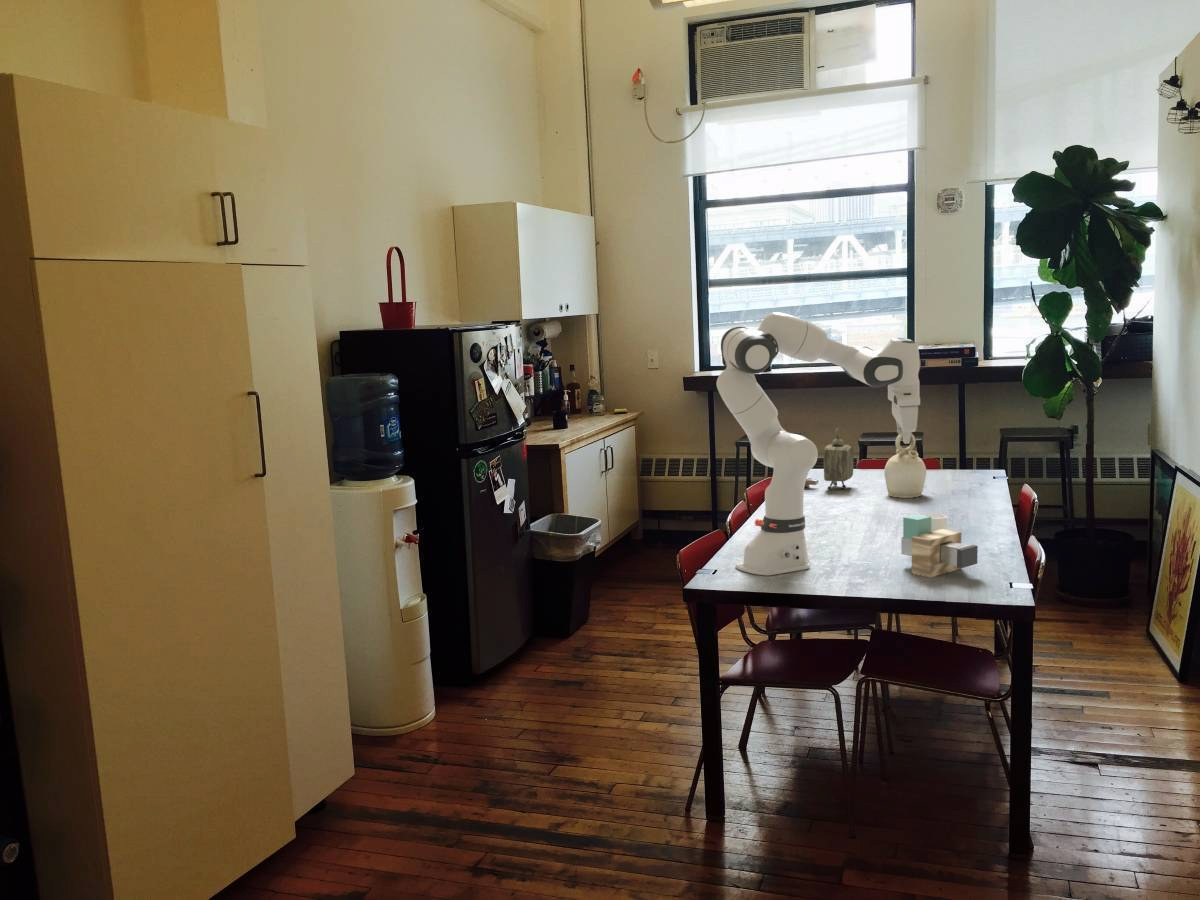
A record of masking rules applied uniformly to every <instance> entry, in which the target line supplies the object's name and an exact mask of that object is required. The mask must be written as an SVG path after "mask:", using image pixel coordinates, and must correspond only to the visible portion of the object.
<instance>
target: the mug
mask: <svg viewBox="0 0 1200 900" xmlns="http://www.w3.org/2000/svg"><path fill="white" fill-rule="evenodd" d="M919 515H924V516H930V517H932V518H931V532H933V531H937V530H941V529H947V530H948V516H947V515H946V514H942V513H935V512H927V513H925V512H924V513H920V514H919Z"/></svg>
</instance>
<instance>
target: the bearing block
mask: <svg viewBox="0 0 1200 900" xmlns="http://www.w3.org/2000/svg"><path fill="white" fill-rule="evenodd" d="M949 541H950V542H955V543H960V544H962V531H958V530H957V531H956V530H951V529H948V528H947V529H941V530H937V531H933V532H929V533H925V534H921V535H917V536H913V537H912V556H911V574H912V573H913V575H916V574H917V575H916V576H920V575H921V576H920V577H924V576H925V577H924V578H928V579H930V578H931V579H932V578H935V577H938V576H940V575H944V574H947V572H948V573H950V572H954V571H957V570H961V569H962V568H958V567H957V566H954V565H950V564H945V563H940V544H941V543H945V542H949ZM937 575H938V576H937Z"/></svg>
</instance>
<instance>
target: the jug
mask: <svg viewBox="0 0 1200 900" xmlns="http://www.w3.org/2000/svg"><path fill="white" fill-rule="evenodd" d="M902 440H903V434H898V435H897V436H896V438H895V443H894V444H895V447H896V451H895V454H894V455H893V456H891V457H890V458H889V459H888V460H887V462H886V464H885V466H884V472H883V473H884V479H885V484H886V489H887V493H888V496H889V497H891V496H892V497H891V498H896V497H899V498H898V499H911V498H912V499H913V497H916V498H919V496H920V497H921V496H922V493H923V490H924V487H925V483H926V478H927V477H926V475H927V467H926V464H925V463H924V461H923V459H922V458H921V457H919V453H918V451H916V450H913V449H914V447H915V445H916V438H915V435H914V434H913V433H911V437H910V443H909V446H907V447H902V446H901V441H902Z"/></svg>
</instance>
